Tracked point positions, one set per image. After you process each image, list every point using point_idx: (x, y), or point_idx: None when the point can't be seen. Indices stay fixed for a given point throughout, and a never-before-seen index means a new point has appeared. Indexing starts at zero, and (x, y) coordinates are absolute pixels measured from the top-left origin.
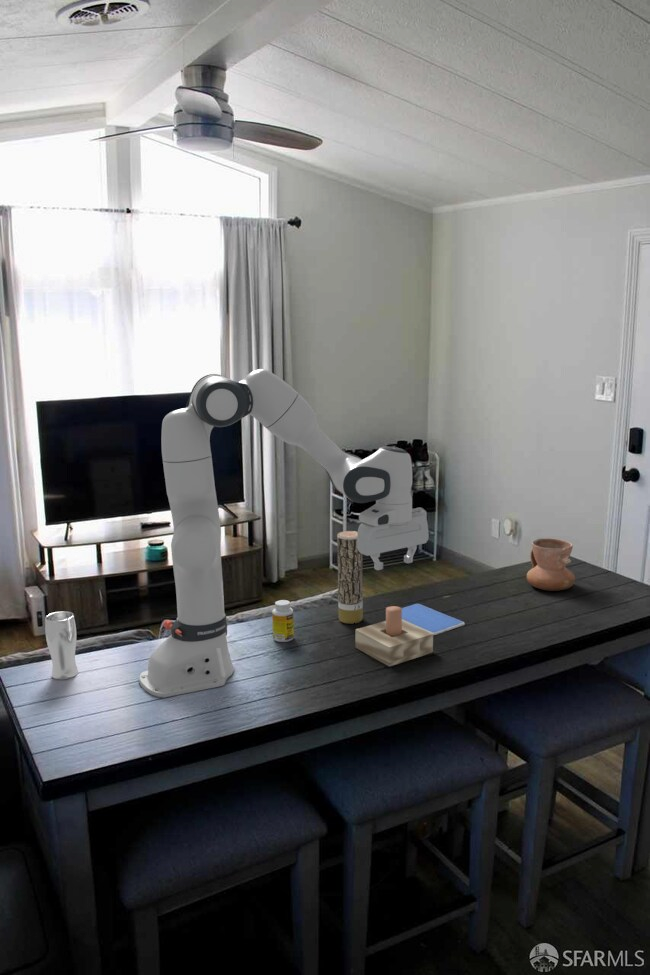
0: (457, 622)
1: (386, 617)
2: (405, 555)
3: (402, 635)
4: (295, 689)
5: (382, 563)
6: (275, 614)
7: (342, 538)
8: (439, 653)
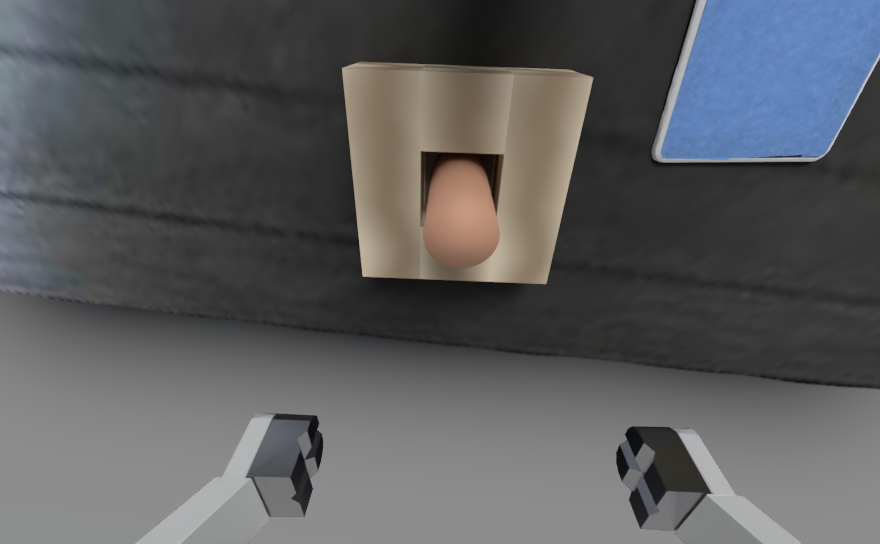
0: (807, 144)
1: (426, 210)
2: (676, 498)
3: None
4: (73, 197)
5: (297, 511)
6: None
7: None
8: None
